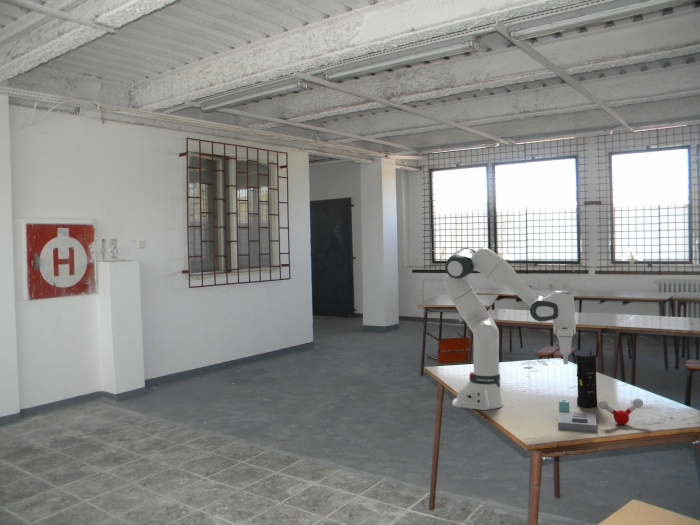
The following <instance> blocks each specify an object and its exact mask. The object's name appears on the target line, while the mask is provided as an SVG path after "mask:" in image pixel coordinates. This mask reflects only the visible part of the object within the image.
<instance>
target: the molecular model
mask: <svg viewBox="0 0 700 525" xmlns="http://www.w3.org/2000/svg"><path fill="white" fill-rule="evenodd" d="M643 406H644V402H643V400H642V399H641V398H635V399H633V401H632V405H630V406H629V407H628V408H627V409H626V410H615V409H614V408H612V406H610V405H609V402H607V401H606V400H605V399H600V400H599V401H597V407H598V408H600V410H607V412H608V413H610V414H612V415H613V420H614V421H615V423H616V424H617V425H621V426H624V425H627V424H628V423H629V421H630V414H632V412H633V411H635V410H636V409H639V408H640V409H641V408H642V407H643Z"/></svg>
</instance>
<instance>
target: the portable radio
mask: <svg viewBox="0 0 700 525" xmlns="http://www.w3.org/2000/svg"><path fill="white" fill-rule="evenodd" d="M575 361H576V363H577V364H576V377H577V397H576V405H577V406H579V407H581V408H584V409H588V408H596V407H598V390H597V389H598V388H597V358H596V355H595V354H592V348H589V353H582V354H576V355H575Z"/></svg>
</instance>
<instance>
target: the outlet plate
mask: <svg viewBox="0 0 700 525" xmlns="http://www.w3.org/2000/svg"><path fill="white" fill-rule="evenodd" d="M557 417H558V420H557V429H559V430H570V431H580V430H581V431H582V432H595V433H598V423H597V417H596V413H592V412H576V411H569V412H564V411H559V410H558V416H557Z"/></svg>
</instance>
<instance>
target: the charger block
mask: <svg viewBox="0 0 700 525" xmlns="http://www.w3.org/2000/svg"><path fill="white" fill-rule="evenodd" d="M559 411H564V412H570V400H569V399H562V398H561V399H558V412H559Z"/></svg>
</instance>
